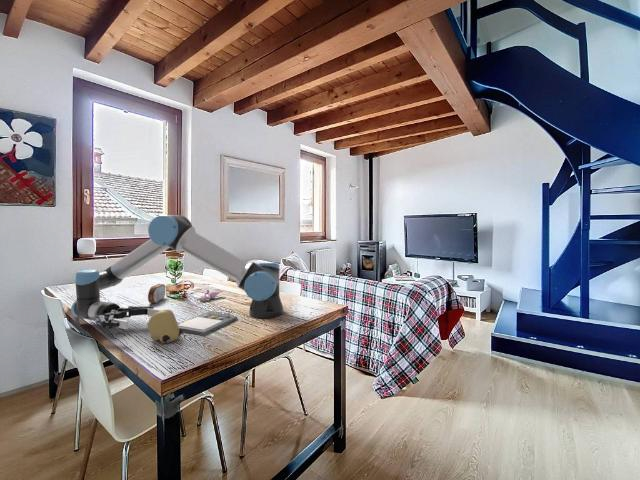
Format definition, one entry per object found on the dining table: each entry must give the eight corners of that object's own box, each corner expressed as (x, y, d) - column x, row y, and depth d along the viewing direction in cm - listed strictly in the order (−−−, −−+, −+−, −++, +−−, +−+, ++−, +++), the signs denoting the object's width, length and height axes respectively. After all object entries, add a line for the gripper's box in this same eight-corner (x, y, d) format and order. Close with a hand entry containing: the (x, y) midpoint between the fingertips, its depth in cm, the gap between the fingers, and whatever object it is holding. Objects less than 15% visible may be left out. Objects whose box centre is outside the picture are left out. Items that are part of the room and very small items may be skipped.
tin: (160, 297, 167) (160, 282, 167) (167, 297, 167) (166, 282, 167) (147, 305, 152) (146, 288, 152) (154, 305, 152) (153, 288, 152)
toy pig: (153, 354, 106) (165, 339, 101) (138, 324, 109) (150, 308, 105) (179, 343, 115) (192, 329, 110) (164, 316, 118) (176, 301, 113)
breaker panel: (237, 319, 132) (237, 312, 132) (203, 335, 114) (203, 327, 114) (207, 314, 138) (207, 308, 138) (170, 329, 120) (170, 321, 119)
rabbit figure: (203, 306, 157) (225, 295, 169) (201, 294, 155) (224, 284, 168) (195, 304, 160) (217, 293, 172) (193, 293, 159) (216, 283, 171)
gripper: (135, 312, 133) (172, 319, 125) (70, 332, 110) (111, 341, 102) (134, 295, 132) (172, 300, 124) (69, 311, 109) (110, 319, 101)
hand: (145, 319), depth 113 cm, fingers open, 13 cm apart
